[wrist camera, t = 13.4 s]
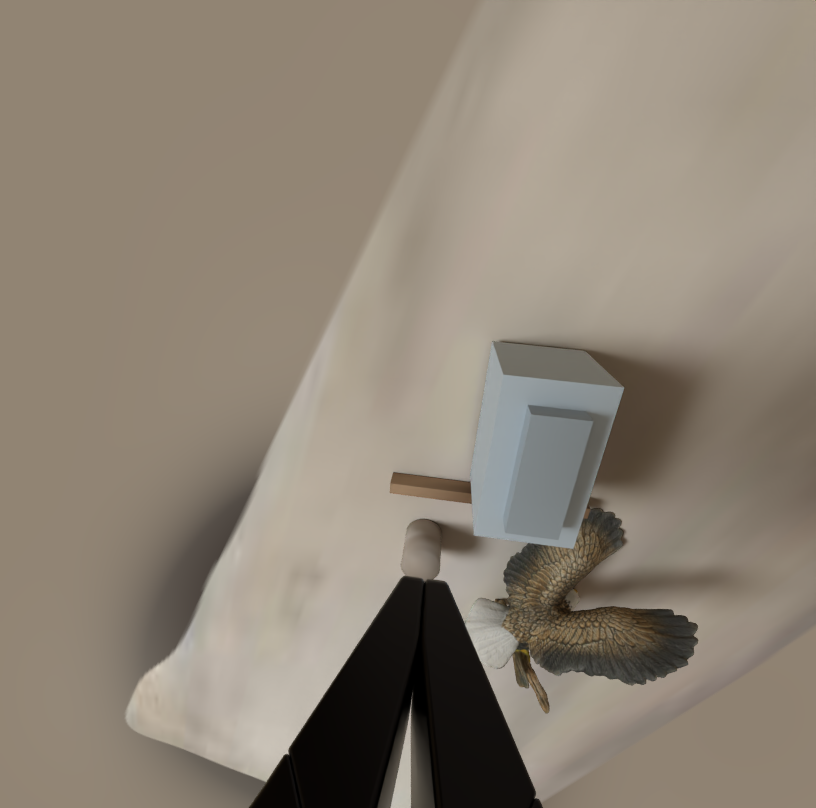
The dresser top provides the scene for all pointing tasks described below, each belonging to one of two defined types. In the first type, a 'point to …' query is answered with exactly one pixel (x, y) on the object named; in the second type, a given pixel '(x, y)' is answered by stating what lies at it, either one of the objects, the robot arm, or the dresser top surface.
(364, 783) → the robot arm
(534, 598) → the eagle figurine
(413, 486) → the pin seat fixture
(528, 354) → the block
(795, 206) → the dresser top surface
